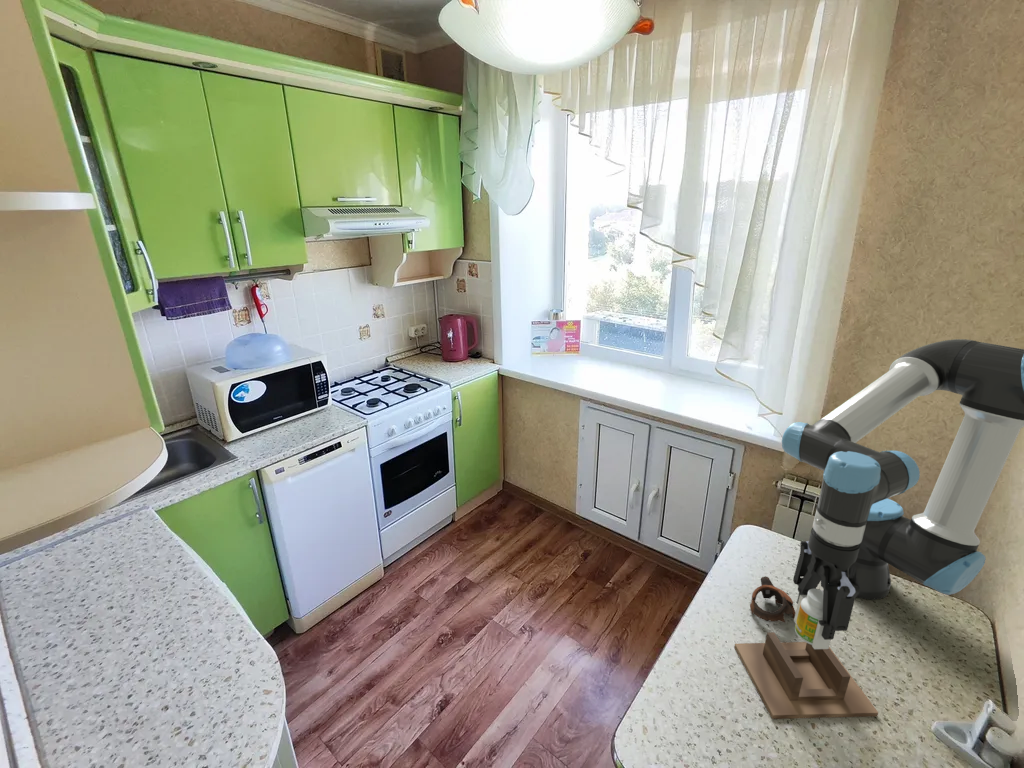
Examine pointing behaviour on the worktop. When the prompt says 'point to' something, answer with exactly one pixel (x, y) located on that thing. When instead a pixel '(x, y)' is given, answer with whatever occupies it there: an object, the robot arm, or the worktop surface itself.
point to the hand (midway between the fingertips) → (810, 634)
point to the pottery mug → (780, 598)
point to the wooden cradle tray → (802, 681)
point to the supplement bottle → (809, 615)
